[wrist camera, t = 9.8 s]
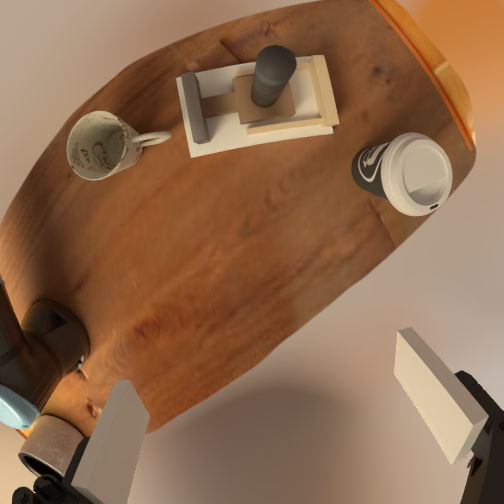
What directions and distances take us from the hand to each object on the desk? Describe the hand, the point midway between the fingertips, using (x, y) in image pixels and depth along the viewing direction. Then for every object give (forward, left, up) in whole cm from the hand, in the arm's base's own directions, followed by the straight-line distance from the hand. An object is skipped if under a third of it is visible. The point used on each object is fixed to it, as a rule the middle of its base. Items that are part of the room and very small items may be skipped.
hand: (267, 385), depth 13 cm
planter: (-59, -43, -32) cm, 80 cm away
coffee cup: (+20, +6, -32) cm, 38 cm away
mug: (-13, +16, -32) cm, 38 cm away
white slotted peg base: (+4, +18, -32) cm, 37 cm away
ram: (+2, +18, -30) cm, 35 cm away
